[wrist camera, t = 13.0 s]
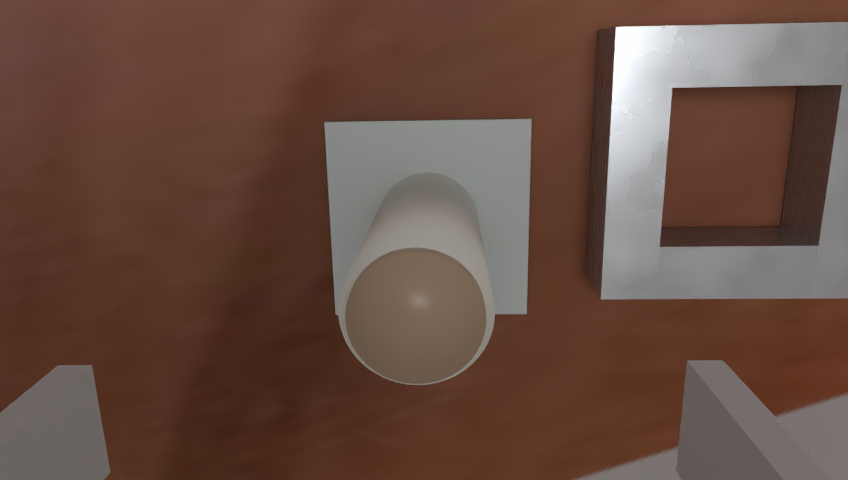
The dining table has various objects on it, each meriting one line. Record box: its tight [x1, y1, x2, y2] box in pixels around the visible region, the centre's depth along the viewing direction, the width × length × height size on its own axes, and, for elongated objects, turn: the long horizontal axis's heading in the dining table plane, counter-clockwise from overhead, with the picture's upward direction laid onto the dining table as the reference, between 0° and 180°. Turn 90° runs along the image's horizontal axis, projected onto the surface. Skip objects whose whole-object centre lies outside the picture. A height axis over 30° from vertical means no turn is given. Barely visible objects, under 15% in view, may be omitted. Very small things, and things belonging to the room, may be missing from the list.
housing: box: [586, 22, 848, 299], centre depth 30 cm, size 12×12×4 cm
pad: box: [324, 119, 531, 315], centre depth 33 cm, size 10×10×1 cm
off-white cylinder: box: [338, 172, 495, 385], centre depth 27 cm, size 5×5×13 cm
